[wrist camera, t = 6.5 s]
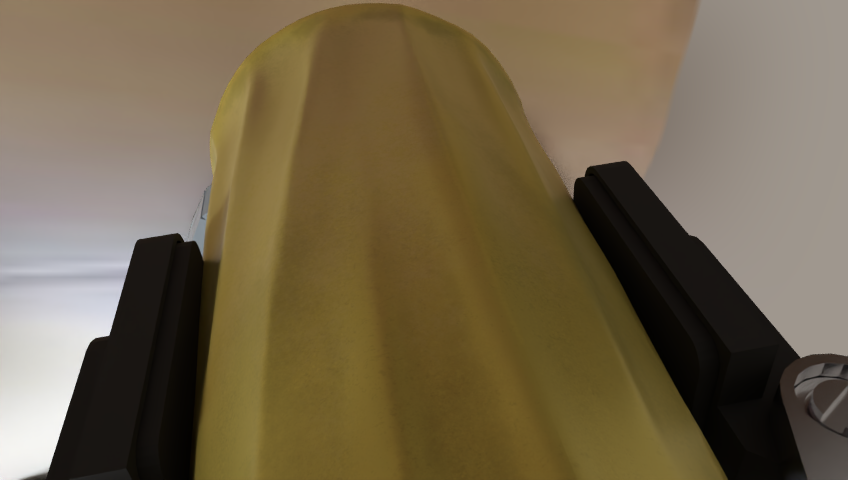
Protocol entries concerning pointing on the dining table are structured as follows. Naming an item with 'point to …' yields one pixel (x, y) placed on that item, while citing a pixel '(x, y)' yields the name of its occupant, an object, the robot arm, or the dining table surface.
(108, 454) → the robot arm
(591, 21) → the dining table surface
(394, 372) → the vase
